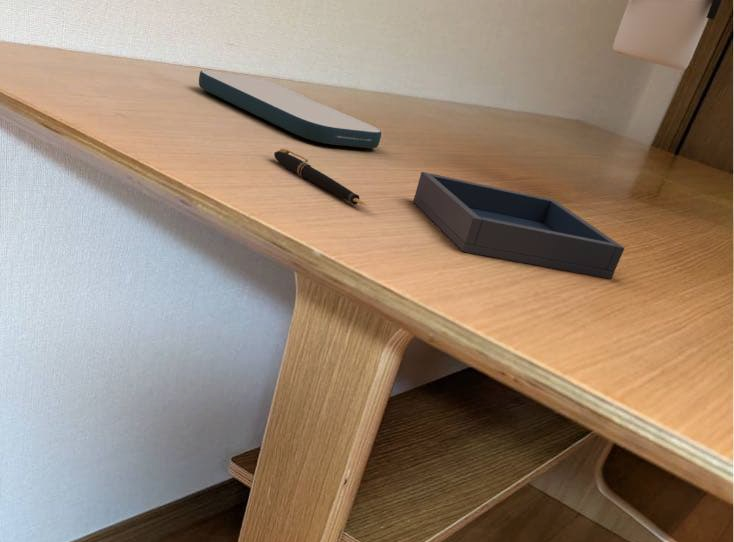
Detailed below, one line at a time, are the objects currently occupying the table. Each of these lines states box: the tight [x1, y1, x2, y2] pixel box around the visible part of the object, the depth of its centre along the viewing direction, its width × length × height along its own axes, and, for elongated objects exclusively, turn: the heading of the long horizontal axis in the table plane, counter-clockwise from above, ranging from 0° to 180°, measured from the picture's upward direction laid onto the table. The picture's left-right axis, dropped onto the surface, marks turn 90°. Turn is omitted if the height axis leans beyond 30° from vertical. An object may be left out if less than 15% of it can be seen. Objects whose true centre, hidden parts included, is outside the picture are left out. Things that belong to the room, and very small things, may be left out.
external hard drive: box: [198, 69, 382, 149], centre depth 93 cm, size 24×12×2 cm, turn 40°
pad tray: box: [412, 171, 625, 280], centre depth 70 cm, size 14×14×3 cm
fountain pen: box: [273, 148, 369, 206], centre depth 70 cm, size 14×1×2 cm, turn 35°
